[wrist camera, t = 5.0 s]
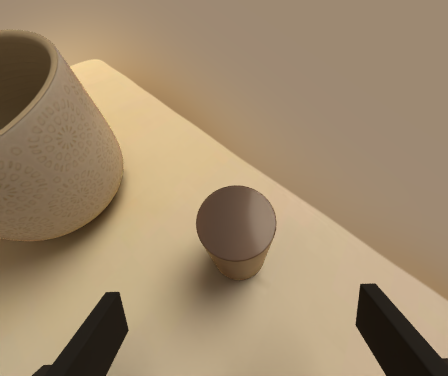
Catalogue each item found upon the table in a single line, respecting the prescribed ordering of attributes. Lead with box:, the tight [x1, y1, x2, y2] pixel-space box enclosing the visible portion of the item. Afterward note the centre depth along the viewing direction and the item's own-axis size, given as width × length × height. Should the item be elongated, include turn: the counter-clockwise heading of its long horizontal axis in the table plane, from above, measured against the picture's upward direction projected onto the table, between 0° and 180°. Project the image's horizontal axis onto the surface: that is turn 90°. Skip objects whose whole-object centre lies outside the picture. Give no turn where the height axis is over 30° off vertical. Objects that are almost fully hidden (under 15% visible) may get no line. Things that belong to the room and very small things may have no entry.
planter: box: [0, 30, 123, 241], centre depth 23 cm, size 17×17×15 cm
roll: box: [196, 186, 276, 280], centre depth 20 cm, size 6×6×10 cm
